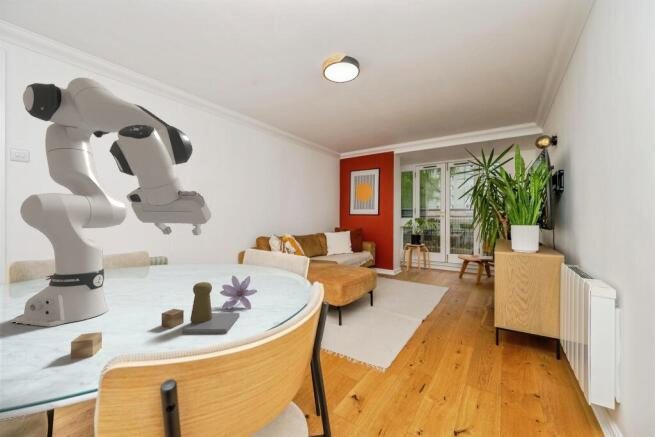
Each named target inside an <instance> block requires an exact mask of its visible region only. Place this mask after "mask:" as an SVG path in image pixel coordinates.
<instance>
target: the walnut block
mask: <svg viewBox="0 0 655 437" xmlns="http://www.w3.org/2000/svg"><path fill="white" fill-rule="evenodd" d="M184 312H185V311H184V310H183V309H178V308H172V309H169V310H167V311H164V312H161V327H162V328H166V329H167V328H168V329H174V328H176V327H179V326H181V325H182V324H184V322H185V321H184V320H185V318H184V317H185V316H184V314H185V313H184Z"/></svg>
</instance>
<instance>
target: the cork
mask: <svg viewBox="0 0 655 437" xmlns="http://www.w3.org/2000/svg"><path fill="white" fill-rule="evenodd" d="M212 290H213V285H212V283H210V282H208V281H206V282H204V281H203V282H196V283H195V284H194V285H193V288H192V292H193V294H194V298H193V301H192V302H193V303H192V309H191V313H190V318H189V319H190V323H191V322H193V323H203V322H207V321H210V320H211V319H212V313H213V312H212V303H211V292H212Z"/></svg>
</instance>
